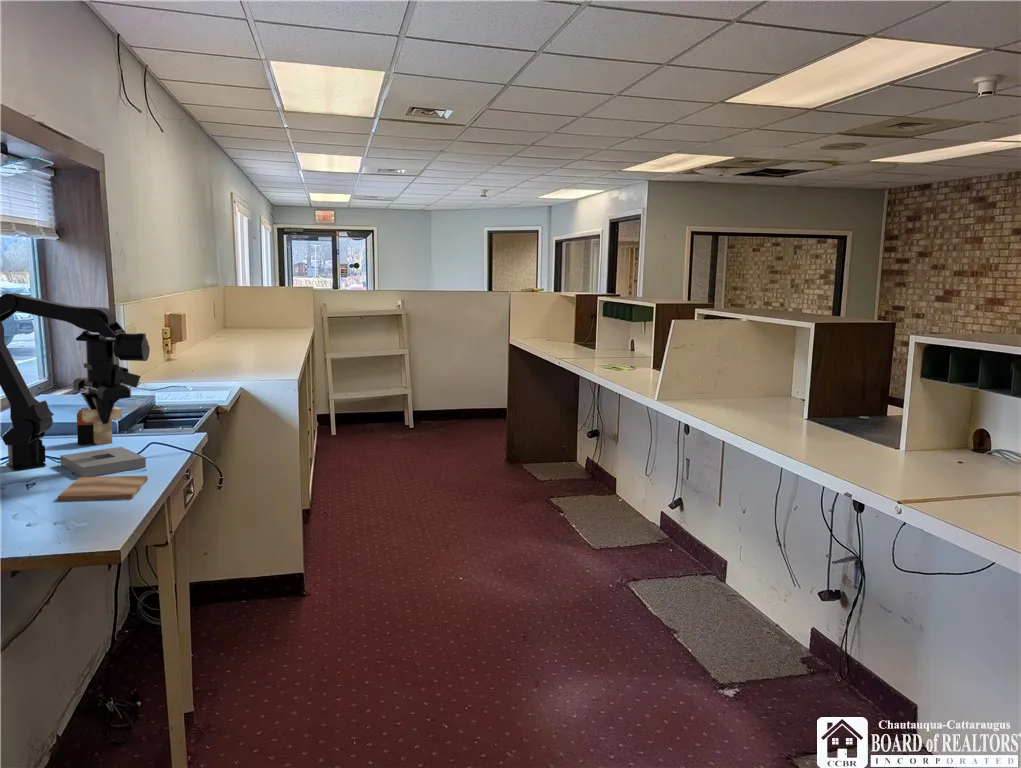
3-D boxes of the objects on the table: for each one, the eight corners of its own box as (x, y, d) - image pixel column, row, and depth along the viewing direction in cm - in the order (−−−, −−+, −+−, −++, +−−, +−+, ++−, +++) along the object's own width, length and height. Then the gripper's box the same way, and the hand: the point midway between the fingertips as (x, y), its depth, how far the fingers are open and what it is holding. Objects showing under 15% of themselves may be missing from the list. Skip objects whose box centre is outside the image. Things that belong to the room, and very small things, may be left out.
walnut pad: (132, 498, 145) (132, 494, 145) (58, 500, 141) (57, 496, 141) (147, 479, 158) (147, 475, 158) (80, 481, 154) (79, 477, 154)
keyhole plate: (83, 477, 157) (83, 467, 156) (60, 465, 165) (60, 455, 165) (145, 467, 168) (145, 457, 167) (121, 455, 176) (121, 446, 176)
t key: (87, 446, 162) (86, 412, 160) (82, 444, 163) (81, 410, 162) (123, 441, 168) (122, 408, 167) (117, 439, 170) (116, 406, 168)
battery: (79, 441, 187) (78, 406, 186) (107, 440, 190) (107, 406, 189) (77, 445, 184) (76, 409, 182) (106, 444, 186) (105, 409, 185)
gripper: (152, 362, 163) (153, 424, 166) (119, 354, 174) (120, 412, 177) (102, 365, 154) (104, 431, 157) (71, 356, 166) (73, 417, 168)
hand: (102, 422), depth 165 cm, fingers closed on t key, 3 cm apart
